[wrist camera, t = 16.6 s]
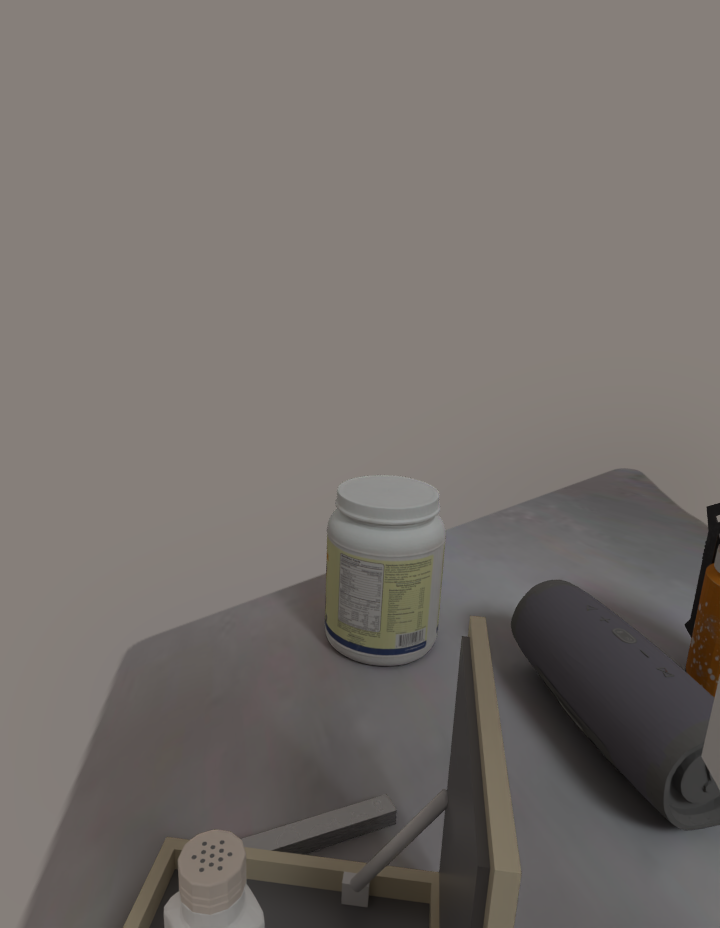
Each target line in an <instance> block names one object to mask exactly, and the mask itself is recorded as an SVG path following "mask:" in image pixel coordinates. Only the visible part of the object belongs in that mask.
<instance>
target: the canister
mask: <svg viewBox="0 0 720 928" xmlns="http://www.w3.org/2000/svg"><path fill="white" fill-rule="evenodd" d="M718 515H720V503H718V504H714V505H711V506H708V507H707V517H708V529H709V531H708V536H707V541H706V542H705V543H706V545H705V549H704V553H703V557H702V559H703V560H702V565H701V570H700V575H699V580H698V584H697V589H696V594H695V599H694V604H693V609H692V614H691V618H690V620H689V621H688V622H687V623H686V624H685V627H686V629H687V631H688V632H689V634H690V636H691V638H692V639H691V644H690V648H689V653H688V658H687V663H686V669H685V672H686V673H688V674H689V675H690V676H691V677H692V678H693V679H694V680H695V681H696V682H698V683H699V684H700V685H701V686H702V687H703V688H704V689H705V690H706V691H707V692H709V693H710V694H711V695H712V696H713V697H714V698H715V694H716V689H717V685H718V680H719V676H720V522H718V521H717V518H716V516H718Z"/></svg>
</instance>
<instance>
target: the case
mask: <svg viewBox="0 0 720 928" xmlns="http://www.w3.org/2000/svg"><path fill="white" fill-rule="evenodd" d="M444 810H445V817H444V828H443V838H442V849H441V859H440V870H439V872H432V871H424V870H417V869H409V868H401V867H394V866H387V865H388V864H389V863H390V862H391V861H392V860H393V859H394V858H395V857H396V856H397V855H398V854H399V853H400V852H401V851H402V850H403V849H405V848H406V847H407V846H408V845H409V844H410V843H411V842H412V841H413V840H414V839H415V838H416V837H417V836H418V835H419V834H420V833H421V832H422V831H423V830H424V829H425V828H426V827H427V826H428V825H429V824H431V823H432V822H433V821H434V820H435V819H436V818H437V817H438V816H439V815H440V814H441V813H442V812H443V811H444ZM189 841H190V840H187V839H179V838H172V837H166V839H165V841H164V843H163V845H162V848H161V850H160V852H159V854H158V856H157V858H156V860H155V862H154V864H153V866H152V868H151V870H150V872H149V875H148V877H147V879H146V881H145V883H144V885H143V887H142V889H141V891H140V893H139V895H138V897H137V900H136V902H135V904H134V906H133V908H132V910H131V912H130V914H129V916H128V918H127V920H126V922H125V924H124V927H123V928H164V906H165V905H166V903H167V902H168V901H169V899H170V898H171V897H172V896H173V895H174V894H176V893H177V892H178V891H179V878H178V858H179V856H180V854H181V851H182V849H183V847H184V845H185V844H186V843H187V842H189ZM244 848H245V852H246V877H247V883H246V884H247V885H248V886H249V888H250V890H251V891H252V893H253V894H254V896H255V898H256V900H257V901H258V903H259V905H260V907H261V909H262V911H263V913H264V922H265V928H514V923H515V916H516V909H517V901H518V894H519V887H520V880H521V867H520V860H519V853H518V845H517V838H516V831H515V824H514V817H513V810H512V803H511V796H510V789H509V782H508V774H507V767H506V760H505V753H504V746H503V739H502V732H501V725H500V718H499V711H498V704H497V696H496V689H495V682H494V675H493V668H492V661H491V654H490V647H489V640H488V633H487V626H486V618H485V617H478V616H470V623H469V633H468V637H465V636H462V640H461V651H460V661H459V672H458V682H457V692H456V703H455V713H454V724H453V734H452V745H451V755H450V765H449V776H448V786H447V790H445V789H444V790H442V791H441V792H440V793H439V794H438V795H437V796H436V797H435V798H434V799H433V800H432V801H431V802H430V803H429V804H428V805H427V806H426V807H425V808H424V809H423V810H422V811H421V812H419V813H418V814H417V815H416V816H415V817H414V818H413V819H412V820H411V821H410V822H409V823H408V824H407V825H406V826H405V827H404V828H403V829H402V830H401V831H400V832H399V833H398V834H397V835H396V836H395V837H394V838H393V839H392V840H391V841H390V842H389V843H388V844H387V845H386V846H385V847H384V848H383V849H382V850H381V851H380V852H379V853H378V854H376V855H375V856H374V857H373V858H372V859H371V860H370V861H369V862H368V863H363V862H355V861H348V860H340V859H333V858H325V857H317V856H310V855H302V854H294V853H287V852H279V851H271V850H264V849H256V848H248V847H244Z"/></svg>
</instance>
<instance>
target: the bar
mask: <svg viewBox="0 0 720 928" xmlns="http://www.w3.org/2000/svg"><path fill="white" fill-rule="evenodd" d="M396 813H397V810H396V808H395V806H394V805H393V803H392V802H391V800H390V798H389V797H388V795H387V794H385V795H382V796H378V797H375V798H372V799H369V800H365V801H362V802H359V803H356V804H352V805H349V806H346V807H343V808H339V809H336V810H333V811H330V812H327V813H323V814H320V815H317V816H314V817H310V818H307V819H304V820H301V821H297V822H294V823H291V824H288V825H284V826H281V827H278V828H275V829H271V830H268V831H265V832H262V833H258V834H255V835H252V836H249V837H245V838H242V839H241V840H242V841H243V845H244V847H248V848H256V849H264V850H271V851H279V852H287V853H294V854H302V855H304V854H307V853H310V852H313V851H316V850H319V849H322V848H325V847H328V846H331V845H334V844H337V843H340V842H343V841H346V840H349V839H352V838H355V837H358V836H361V835H364V834H367V833H370V832H373V831H376V830H379V829H382V828H385V827H388V826H391V825H394V824H396Z"/></svg>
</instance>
